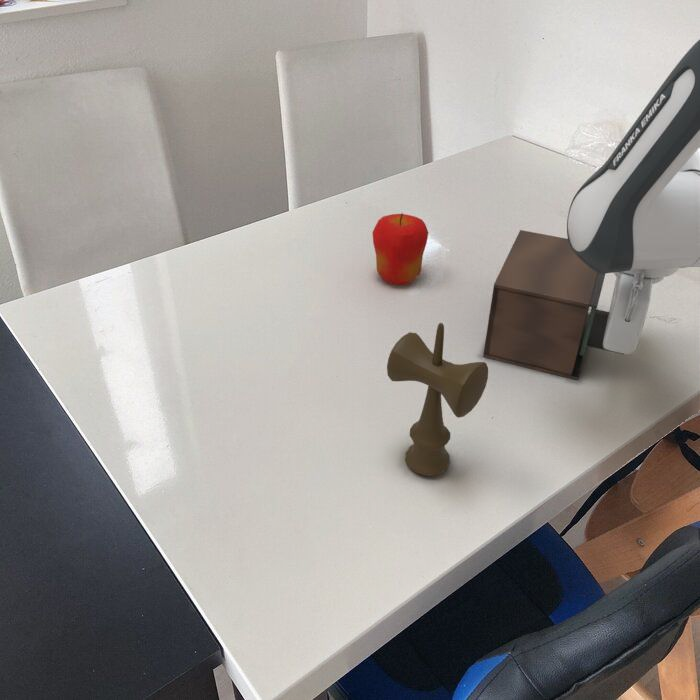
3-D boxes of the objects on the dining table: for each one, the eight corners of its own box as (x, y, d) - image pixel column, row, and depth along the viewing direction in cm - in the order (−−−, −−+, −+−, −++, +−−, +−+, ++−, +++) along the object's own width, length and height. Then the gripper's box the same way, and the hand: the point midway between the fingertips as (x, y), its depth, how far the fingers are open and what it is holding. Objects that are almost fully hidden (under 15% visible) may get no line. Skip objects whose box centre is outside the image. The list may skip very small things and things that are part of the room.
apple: (427, 267, 114) (432, 202, 107) (421, 294, 107) (426, 227, 100) (376, 262, 115) (378, 197, 108) (367, 288, 109) (368, 221, 101)
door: (627, 331, 98) (646, 268, 92) (621, 365, 92) (641, 300, 86) (587, 322, 100) (604, 259, 94) (579, 355, 94) (596, 290, 87)
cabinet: (593, 317, 102) (612, 246, 95) (577, 380, 91) (597, 305, 83) (508, 298, 106) (520, 229, 99) (482, 356, 95) (493, 283, 87)
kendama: (447, 499, 75) (467, 357, 63) (378, 457, 80) (383, 318, 67) (476, 467, 79) (499, 327, 66) (408, 430, 83) (418, 293, 71)
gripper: (668, 297, 72) (634, 394, 81) (675, 215, 87) (646, 305, 95) (606, 284, 74) (579, 381, 83) (624, 207, 89) (600, 295, 97)
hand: (615, 339), depth 89 cm, fingers closed
